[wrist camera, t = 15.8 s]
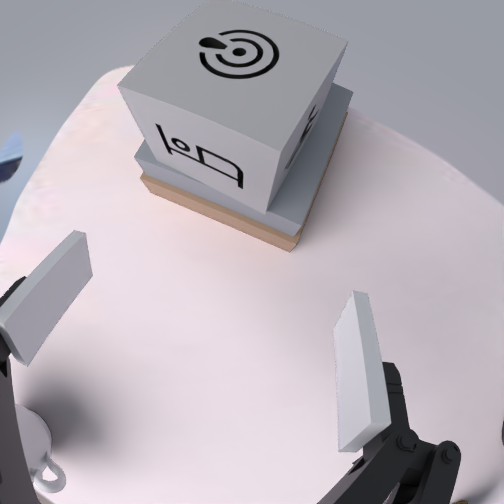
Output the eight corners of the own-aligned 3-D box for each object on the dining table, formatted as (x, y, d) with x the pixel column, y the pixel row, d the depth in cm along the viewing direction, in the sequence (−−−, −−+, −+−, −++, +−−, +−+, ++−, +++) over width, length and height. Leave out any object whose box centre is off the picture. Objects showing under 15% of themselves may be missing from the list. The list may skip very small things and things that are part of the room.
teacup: (94, 492, 25) (60, 532, 15) (6, 446, 25) (-36, 467, 15) (94, 415, 27) (48, 446, 17) (2, 372, 27) (-50, 382, 17)
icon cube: (156, 160, 24) (116, 85, 14) (218, 79, 26) (212, -4, 16) (264, 214, 23) (280, 152, 14) (317, 121, 25) (348, 41, 15)
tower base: (337, 131, 34) (358, 91, 26) (289, 252, 31) (305, 234, 23) (216, 85, 35) (212, 40, 27) (150, 192, 32) (126, 160, 24)
